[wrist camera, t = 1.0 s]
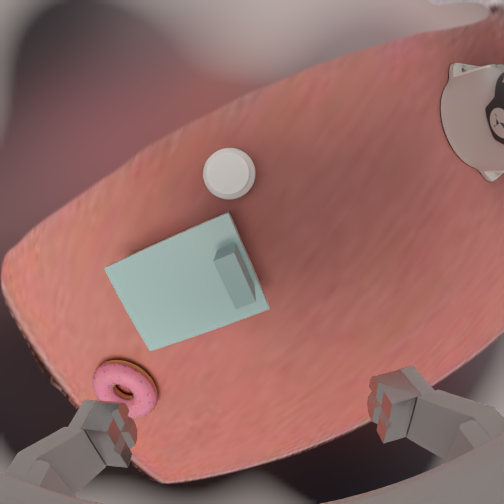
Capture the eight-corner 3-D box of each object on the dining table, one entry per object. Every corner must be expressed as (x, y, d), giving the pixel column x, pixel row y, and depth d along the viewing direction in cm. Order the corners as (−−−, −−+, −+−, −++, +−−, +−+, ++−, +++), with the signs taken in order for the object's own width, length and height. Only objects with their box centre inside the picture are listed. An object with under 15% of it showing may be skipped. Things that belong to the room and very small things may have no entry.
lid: (228, 211, 31) (225, 218, 26) (269, 305, 34) (272, 326, 29) (107, 265, 32) (88, 280, 27) (152, 346, 35) (140, 370, 30)
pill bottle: (239, 204, 37) (236, 213, 28) (201, 181, 36) (187, 184, 28) (262, 166, 36) (267, 163, 27) (224, 143, 35) (217, 134, 26)
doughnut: (108, 404, 45) (101, 419, 41) (89, 353, 42) (78, 367, 38) (166, 409, 45) (161, 426, 41) (151, 355, 42) (144, 371, 38)
